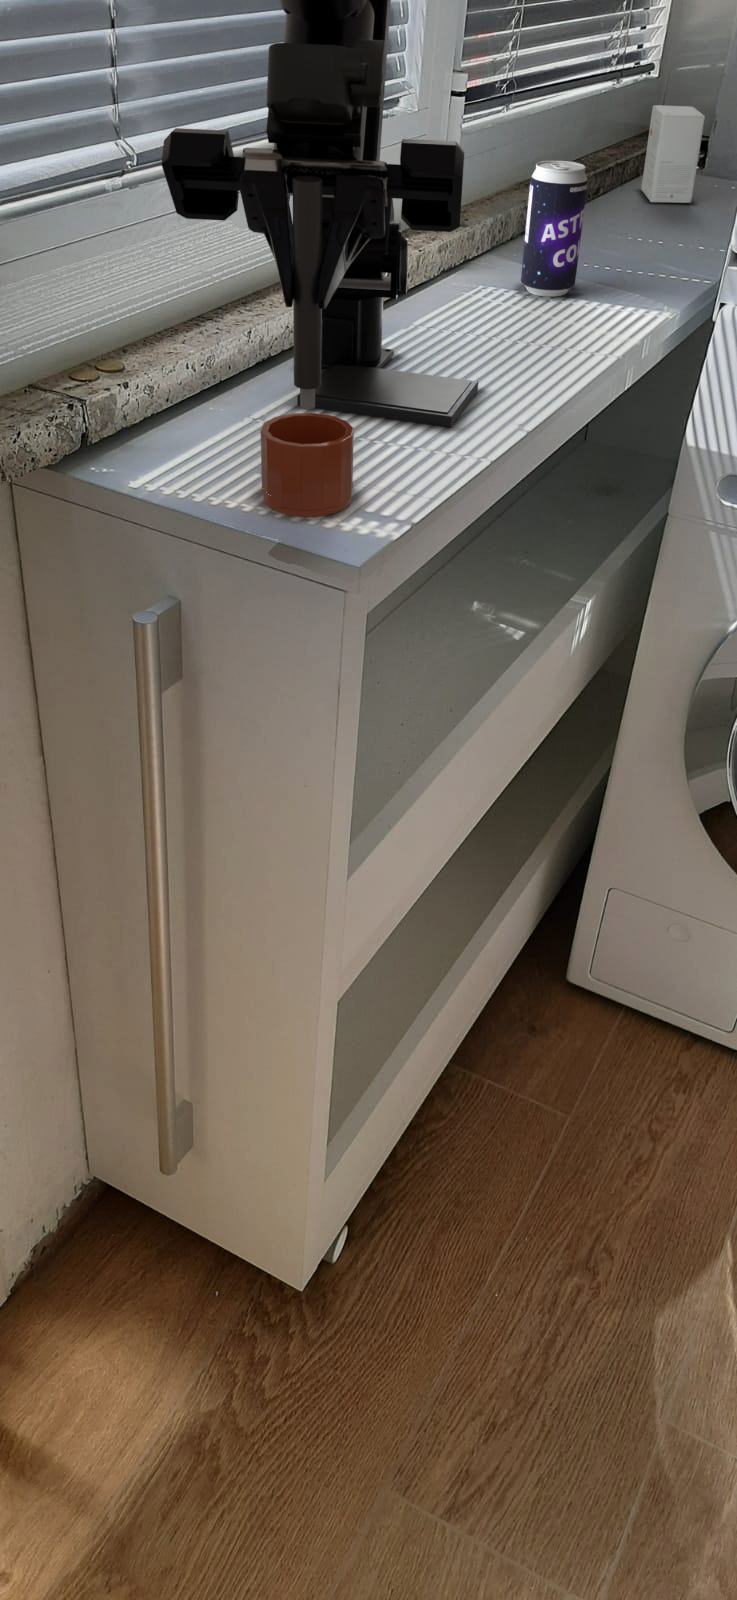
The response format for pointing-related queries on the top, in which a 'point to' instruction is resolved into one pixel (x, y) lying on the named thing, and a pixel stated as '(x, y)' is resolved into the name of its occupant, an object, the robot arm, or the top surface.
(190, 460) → the top surface
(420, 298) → the top surface
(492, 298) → the top surface
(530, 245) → the beverage can
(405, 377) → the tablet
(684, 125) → the small box
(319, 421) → the pencil cup
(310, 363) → the stylus
